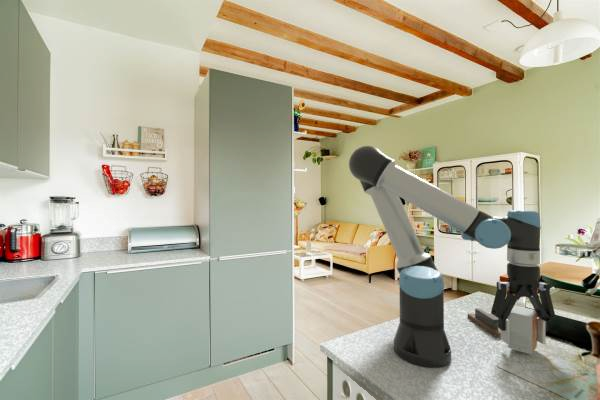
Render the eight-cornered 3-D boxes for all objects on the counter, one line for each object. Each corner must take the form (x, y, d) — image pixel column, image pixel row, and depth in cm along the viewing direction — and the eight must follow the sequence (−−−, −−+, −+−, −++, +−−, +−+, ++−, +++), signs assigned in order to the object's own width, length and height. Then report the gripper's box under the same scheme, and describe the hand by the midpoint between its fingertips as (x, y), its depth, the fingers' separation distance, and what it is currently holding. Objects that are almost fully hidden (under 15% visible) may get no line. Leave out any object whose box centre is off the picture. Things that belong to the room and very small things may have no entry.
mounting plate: (496, 337, 90) (496, 323, 90) (467, 317, 106) (467, 305, 106) (544, 337, 90) (544, 323, 90) (508, 317, 106) (508, 305, 106)
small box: (532, 356, 77) (532, 317, 78) (507, 348, 82) (507, 311, 82) (537, 346, 83) (537, 309, 83) (513, 339, 87) (514, 304, 87)
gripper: (493, 266, 79) (492, 347, 79) (573, 267, 78) (573, 348, 78) (476, 260, 86) (476, 334, 86) (550, 261, 86) (549, 336, 86)
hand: (522, 341), depth 82 cm, fingers closed on small box, 9 cm apart
